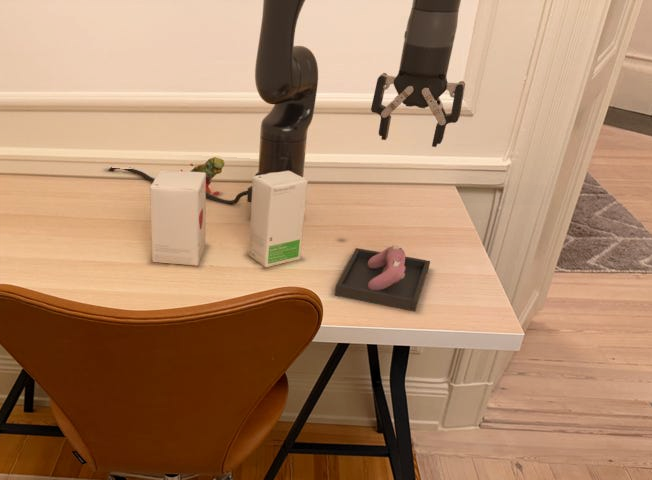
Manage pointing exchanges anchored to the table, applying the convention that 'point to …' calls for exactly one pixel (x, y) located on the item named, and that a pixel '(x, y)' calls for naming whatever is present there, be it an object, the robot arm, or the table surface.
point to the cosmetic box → (277, 217)
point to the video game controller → (387, 268)
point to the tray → (395, 295)
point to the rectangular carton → (178, 217)
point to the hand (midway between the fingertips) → (409, 142)
